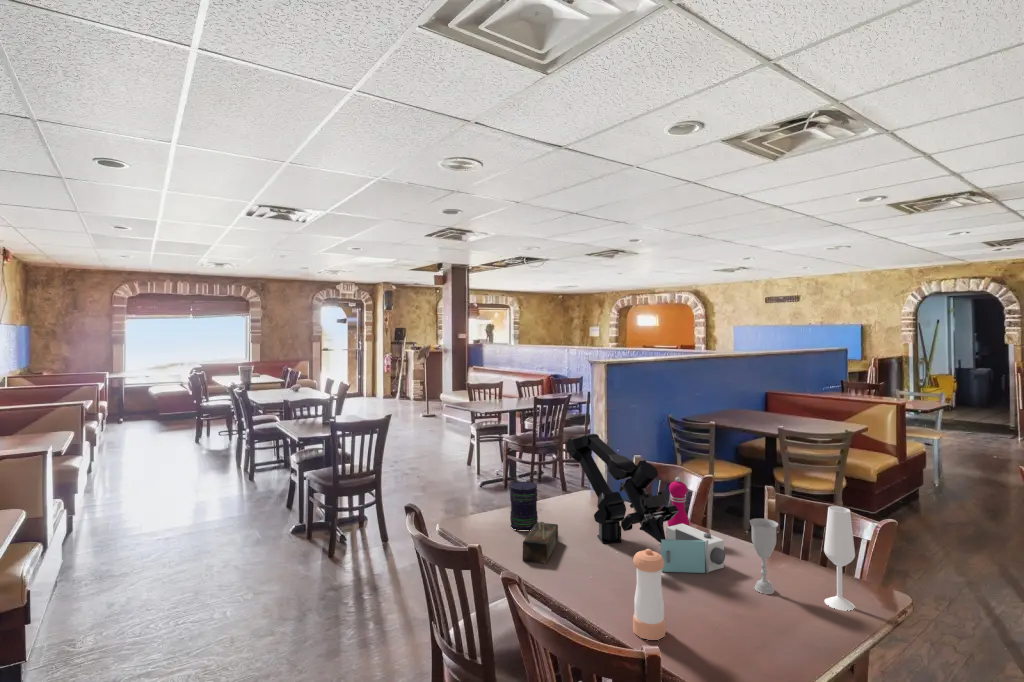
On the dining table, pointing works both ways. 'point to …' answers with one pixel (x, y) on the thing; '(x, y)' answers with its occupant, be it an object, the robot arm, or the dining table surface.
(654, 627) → the salt shaker
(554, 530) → the beverage carton
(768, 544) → the chalice
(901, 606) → the dining table surface
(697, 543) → the hatch
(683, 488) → the pepper mill
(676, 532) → the case
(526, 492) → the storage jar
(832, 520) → the champagne flute
